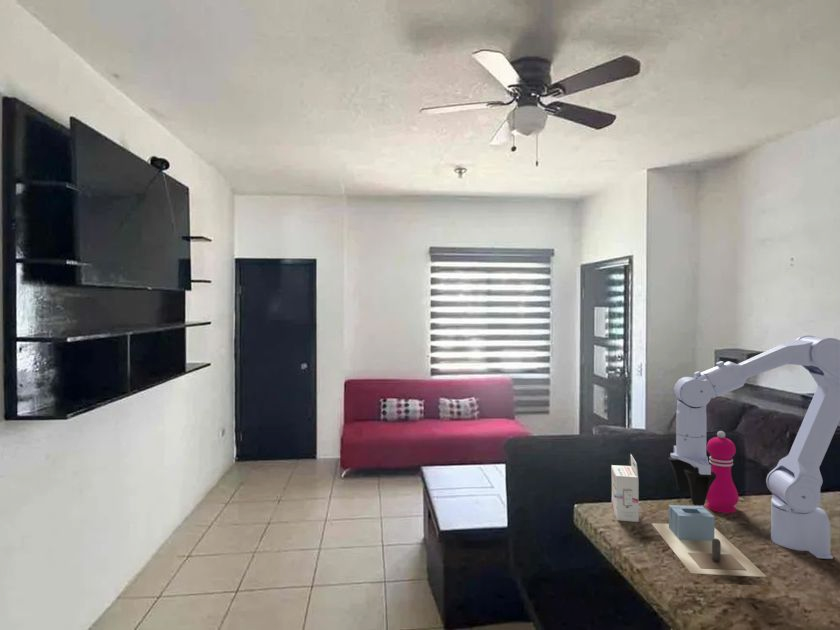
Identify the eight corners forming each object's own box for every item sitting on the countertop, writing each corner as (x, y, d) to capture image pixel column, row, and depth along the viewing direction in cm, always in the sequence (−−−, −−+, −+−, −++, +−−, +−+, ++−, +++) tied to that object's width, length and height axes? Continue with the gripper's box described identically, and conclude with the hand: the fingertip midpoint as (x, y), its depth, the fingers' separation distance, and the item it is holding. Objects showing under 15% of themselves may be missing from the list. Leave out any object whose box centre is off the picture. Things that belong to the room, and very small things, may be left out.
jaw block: (702, 528, 114) (702, 506, 114) (714, 540, 108) (714, 517, 108) (668, 527, 115) (668, 504, 115) (678, 539, 109) (678, 515, 109)
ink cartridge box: (610, 512, 128) (610, 452, 127) (632, 513, 127) (632, 453, 126) (616, 526, 119) (616, 462, 119) (639, 528, 118) (639, 463, 118)
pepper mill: (697, 508, 130) (697, 427, 129) (725, 507, 130) (725, 427, 130) (716, 520, 122) (716, 435, 122) (745, 519, 123) (746, 434, 123)
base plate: (712, 532, 116) (712, 506, 116) (766, 585, 94) (767, 552, 94) (651, 529, 118) (651, 503, 117) (690, 581, 96) (691, 549, 96)
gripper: (659, 425, 119) (659, 485, 119) (684, 442, 105) (684, 510, 105) (692, 426, 118) (692, 486, 119) (722, 443, 104) (721, 511, 104)
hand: (690, 497), depth 112 cm, fingers open, 7 cm apart
